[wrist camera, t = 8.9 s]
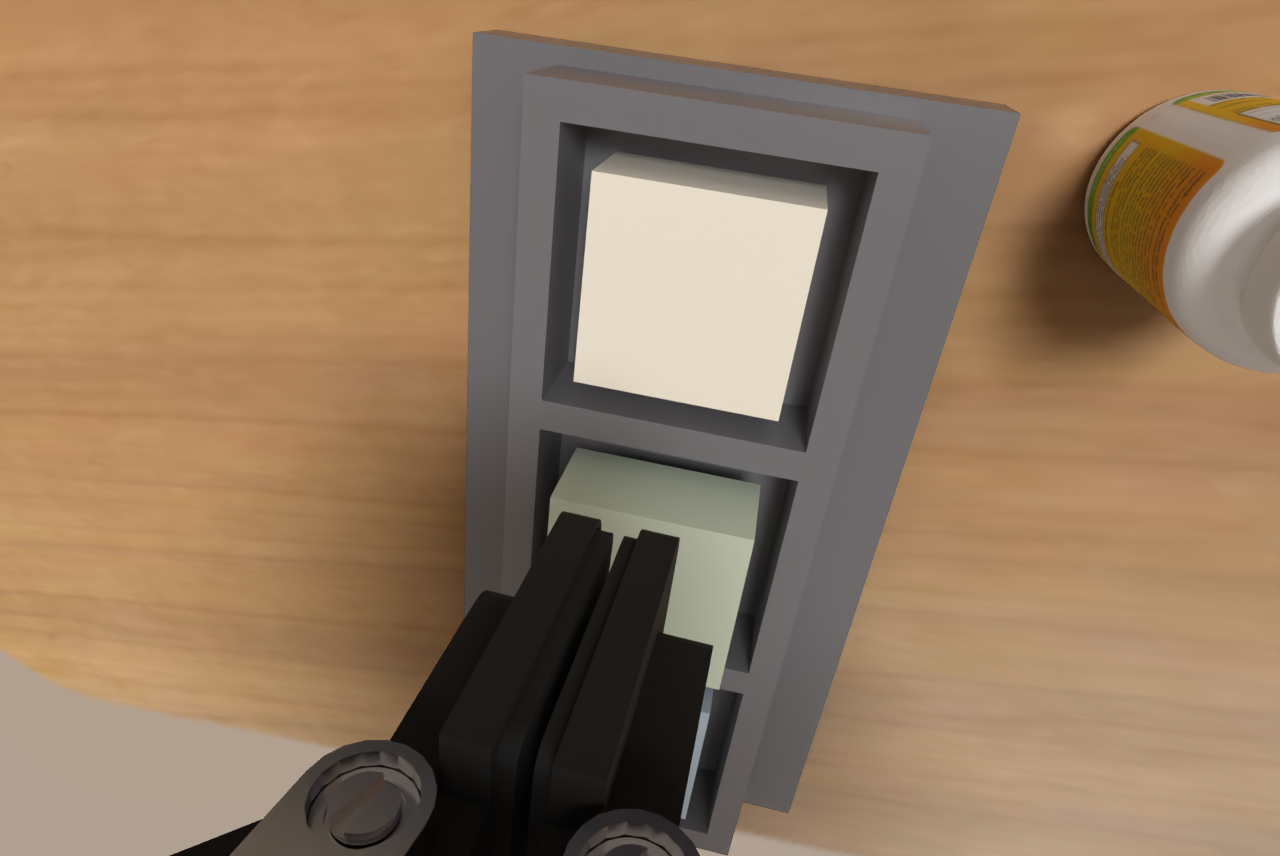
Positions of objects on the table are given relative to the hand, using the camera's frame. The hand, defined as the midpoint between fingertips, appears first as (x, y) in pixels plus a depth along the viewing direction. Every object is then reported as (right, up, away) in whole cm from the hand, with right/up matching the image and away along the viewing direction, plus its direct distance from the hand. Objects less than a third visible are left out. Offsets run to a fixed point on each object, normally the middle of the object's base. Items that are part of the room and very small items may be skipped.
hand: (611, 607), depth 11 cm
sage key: (+1, -1, +16) cm, 16 cm away
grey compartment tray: (+2, +1, +19) cm, 19 cm away
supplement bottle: (+16, +9, +12) cm, 22 cm away
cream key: (+2, +7, +13) cm, 15 cm away
